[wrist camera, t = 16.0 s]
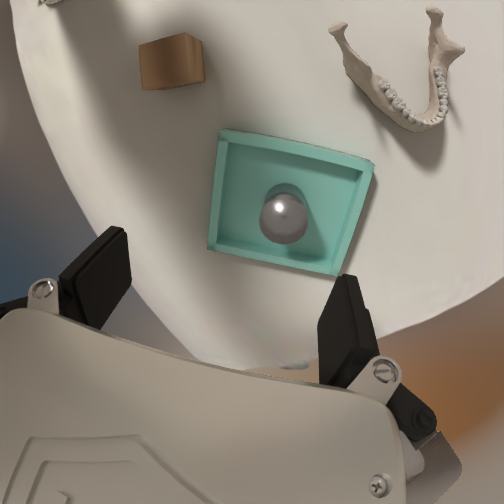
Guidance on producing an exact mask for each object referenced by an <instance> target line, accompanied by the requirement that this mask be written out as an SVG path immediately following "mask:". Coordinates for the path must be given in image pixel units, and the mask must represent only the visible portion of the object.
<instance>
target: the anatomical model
mask: <svg viewBox="0 0 504 504" xmlns="http://www.w3.org/2000/svg"><path fill="white" fill-rule="evenodd" d="M426 13H427V15H428V16H429V18H430V19H431V25H430V34H429V46H428V51H429V57H430V66H429V84H430V99H429V106H428V109H427V111H426V112H425V113H423V114H420V115H418V116H416V114H415V113H411V110H410V108H407V107H405V106H406V104H405V102H404V101H403V100H402V99H401V98H399V97H397V93H396V92H395V90H394V89H393V88H389V87H390V84H389V83H388V81H387V80H386V79H382V78H381V77H380V76H378V75H376V74H374V73H372V70H371V68H370V66H369V65H368V63H367V62H366V61H364V60H362V59H361V58H360V56H359V55H357V54H356V53H355V52H354V51H353V50H352V49H351V47H350V46H349V44H348V43H347V41H346V39H345V36H344V31H345V29H346V28H347V26H348V25H347V23H344V22H335V23H333V24H331V25H330V26H329V28H328V31H329V33H330V34H331V35H333V36H334V37H335V39H336V41H337V43H338V44H339V45H340V48H341V50H342V52H343V65H344V67H345V71H346V74H347V75H348V76H349V77H350V78H351V79H352V80H353V81H354V82H355V83H356V84H357V85H358V86H359V87H360V88H361V89H362V90H363V91H364V92H365V93H366V94H367V96H368V97H369V98H370V100H371V101H372V103H373V104H374V105H375V106H376V107H378V108H379V109H380V110H381V111H382V112H384V113H385V114H386V115H387V116H389V117H390V118H391V119H392V120H393V121H394V122H395V123H396V124H398V125H400V126H402V127H403V128H405V129H407V130H409V131H411V132H422V131H425V130H427V129H429V128H431V127H432V126H437V125H439V124H440V123H441V122H442V121H443V119H444V118H445V116H446V114H447V112H448V109H447V105H448V101H447V98H448V91H447V89H446V88H445V87H446V78H447V71H448V67H449V66H450V64H451V63H452V62H453V61H454V60H455V59H456V58H458V57H459V56H460V55H462V54H463V53H464V52H465V48H464V47H461V46H459V45H457V44H455V43H454V42H452V41H450V40H449V39H448V38H447V37H446V36H445V34H444V32H443V29H442V17H443V12H442V11H441V10H440V9H438V8H436V7H427V8H426Z"/></svg>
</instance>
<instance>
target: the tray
mask: <svg viewBox="0 0 504 504" xmlns="http://www.w3.org/2000/svg"><path fill="white" fill-rule="evenodd" d="M374 166H375V165H374V164H373V163H372V162H371V161H370V160H367V159H364V158H360V157H357V156H354V155H350V154H346V153H343V152H339V151H335V150H331V149H327V148H323V147H319V146H315V145H311V144H307V143H302V142H298V141H293V140H288V139H283V138H278V137H273V136H267V135H262V134H256V133H250V132H244V131H237V130H230V129H224V130H221V131H220V133H219V140H218V148H217V156H216V165H215V173H214V182H213V192H212V201H211V211H210V222H209V233H208V245H207V249H208V250H213V251H218V252H222V253H227V254H232V255H237V256H241V257H246V258H251V259H256V260H260V261H265V262H270V263H275V264H280V265H285V266H289V267H294V268H299V269H304V270H309V271H314V272H319V273H324V274H328V275H333V276H338V273H339V271H340V268H341V266H342V263H343V260H344V258H345V255H346V252H347V250H348V247H349V244H350V241H351V239H352V236H353V233H354V230H355V227H356V224H357V221H358V218H359V215H360V212H361V209H362V206H363V203H364V200H365V197H366V194H367V190H368V187H369V184H370V180H371V177H372V173H373V170H374ZM281 183H289V184H293V185H295V186H297V187H298V188H299V189H300V190H301V191H302V192H303V194H304V196H305V199H306V208H307V218H308V226H307V230H306V232H305V234H304V235H303V237H302V238H301V239H299V240H298V241H296V242H294V243H291V244H285V245H284V244H277V243H274V242H272V241H270V240H269V239H267V238H266V237H265V236H264V235H263V233H262V231H261V229H260V226H259V218H260V214H261V211H262V207H263V204H264V200H265V197H266V194H267V193H268V191H269V190H270V189H271V188H272V187H273V186H275V185H277V184H281Z"/></svg>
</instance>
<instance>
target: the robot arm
mask: <svg viewBox="0 0 504 504" xmlns="http://www.w3.org/2000/svg"><path fill="white" fill-rule="evenodd" d="M60 1H62V0H41V2H43V3H46V4H54V3H58V2H60ZM131 282H132V277H131V269H130V260H129V251H128V240H127V233H126V232H124V229H123V228H120V227H116V226H110V227H109V228H108V229H107V230H106V231H105V232H104V233H102V234H101V235H100V236H99V237H98V238H97V239H96V240H95V241H94V242H93V243H92V244H91V245H89V246H88V247H87V248H86V249H85V250H84V251H83V252H82V253H81V254H80V255H79V256H78V257H77V258H76V259H75V260H74V261H73V262H72V263H71V264H70V265H69V266H68V267H67V268H66V269H65V270H64V271H63V272H62V273H61V274H60V275H59V281H58V282H56V281H55V280H53V279H49V278H46V279H41V280H38V281H37V282H35V283H34V284H33V285H32V286H31V287H30V289H29V292H28V296H27V297H23V298H19V299H16V300H12V301H9V302H6V303H2V304H0V504H434V503H435V502H436V501H437V500H438V499H439V498H440V497H441V496H442V495H443V494H444V493H445V492H446V491H447V490H448V489H449V488H450V487H451V486H452V485H453V484H454V483H455V482H456V481H457V480H458V478H459V477H460V475H461V472H462V464H461V462H460V460H459V458H458V457H457V455H456V453H455V452H454V450H453V449H452V447H451V446H450V444H449V443H448V441H447V440H446V438H445V437H444V435H443V434H442V432H441V431H439V432H437V431H436V429H435V428H436V425H437V420H436V416H435V414H434V412H433V411H432V410H431V409H430V408H429V407H428V406H427V405H426V404H425V403H423V402H422V401H421V400H420V399H419V398H418V397H416V396H415V395H414V394H413V393H412V392H410V391H409V390H408V389H407V388H406V387H405V386H403V385H402V384H401V383H400V382H401V379H402V372H401V369H400V367H399V365H398V364H397V363H396V362H395V361H394V360H393V359H391V358H389V357H386V356H380V353H379V349H378V345H377V340H376V336H375V332H374V328H373V324H372V320H371V316H370V312H369V310H368V309H366V308H365V305H364V301H363V297H362V294H361V290H360V286H359V283H358V279H357V277H356V276H353V275H348V274H343V275H342V276H338V277H337V279H336V282H335V284H334V286H333V289H332V291H331V294H330V296H329V298H328V301H327V303H326V305H325V307H324V310H323V312H322V314H321V316H320V319H319V321H318V326H317V332H318V354H319V384H316V383H309V382H302V381H296V380H289V379H283V378H278V377H272V376H266V375H260V374H255V373H250V372H245V371H240V370H235V369H231V368H226V367H222V366H217V365H213V364H209V363H205V362H201V361H196V360H193V359H189V358H185V357H182V356H178V355H174V354H171V353H167V352H164V351H160V350H157V349H154V348H151V347H147V346H144V345H141V344H138V343H135V342H132V341H129V340H126V339H123V338H120V337H117V336H115V335H112V334H109V333H106V332H103V331H101V330H100V329H101V328H102V326H103V325H104V323H105V322H106V320H107V319H108V317H109V316H110V314H111V313H112V311H113V310H114V309H115V307H116V306H117V304H118V303H119V301H120V300H121V298H122V297H123V296H124V294H125V293H126V291H127V290H128V289H129V287H130V285H131Z"/></svg>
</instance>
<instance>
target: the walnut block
mask: <svg viewBox="0 0 504 504" xmlns="http://www.w3.org/2000/svg"><path fill="white" fill-rule="evenodd" d="M139 58H140V70H141V80H142V89H143V90H166V89H170V88H175V87H179V86H184V85H189V84H195V83H200V82H205V74H204V64H203V53H202V42H201V41H200V40H198V39H196V38H194V37H193V36H191V35H189V34H187V33H181V34H177V35H173V36H170V37H166V38H162V39H159V40H156V41H152V42H149V43H146V44H143V45H140V46H139Z"/></svg>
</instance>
